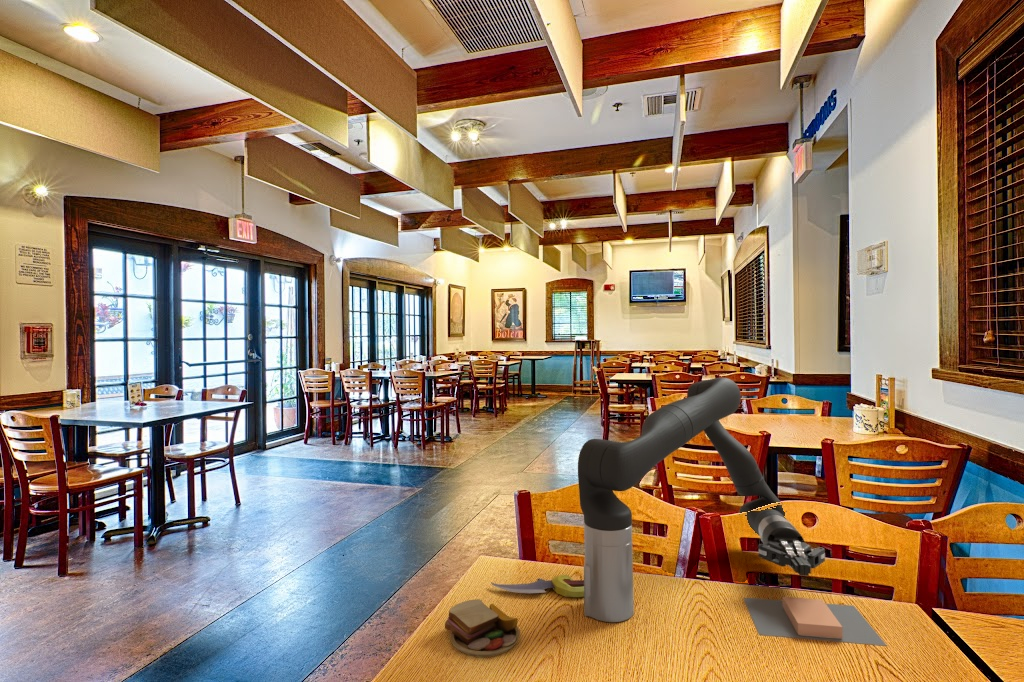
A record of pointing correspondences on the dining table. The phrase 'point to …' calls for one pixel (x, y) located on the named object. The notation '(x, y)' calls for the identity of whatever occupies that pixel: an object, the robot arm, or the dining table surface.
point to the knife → (549, 586)
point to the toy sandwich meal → (481, 629)
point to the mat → (777, 623)
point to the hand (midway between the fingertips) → (804, 570)
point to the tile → (812, 617)
